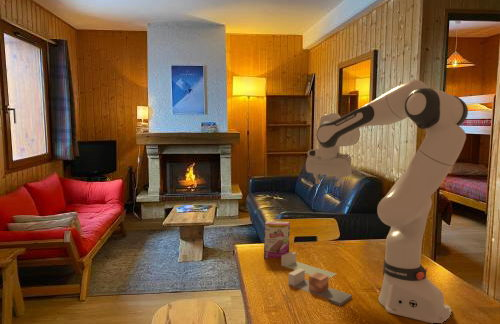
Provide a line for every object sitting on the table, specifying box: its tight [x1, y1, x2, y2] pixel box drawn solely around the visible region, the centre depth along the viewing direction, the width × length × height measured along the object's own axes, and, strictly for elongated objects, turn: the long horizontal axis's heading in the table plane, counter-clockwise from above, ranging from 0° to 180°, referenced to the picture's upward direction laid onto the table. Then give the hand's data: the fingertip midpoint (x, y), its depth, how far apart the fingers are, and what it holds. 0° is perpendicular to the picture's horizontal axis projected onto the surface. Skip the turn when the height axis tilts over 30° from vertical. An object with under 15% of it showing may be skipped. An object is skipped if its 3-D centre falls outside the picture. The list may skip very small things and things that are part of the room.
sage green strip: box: [280, 251, 337, 280], centre depth 158 cm, size 22×8×5 cm, turn 48°
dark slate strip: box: [287, 268, 353, 307], centre depth 140 cm, size 22×8×5 cm, turn 48°
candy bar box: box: [263, 220, 291, 260], centre depth 173 cm, size 11×5×16 cm, turn 84°
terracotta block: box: [308, 272, 330, 294], centre depth 139 cm, size 5×5×5 cm
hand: (327, 185), depth 165 cm, fingers open, 8 cm apart
